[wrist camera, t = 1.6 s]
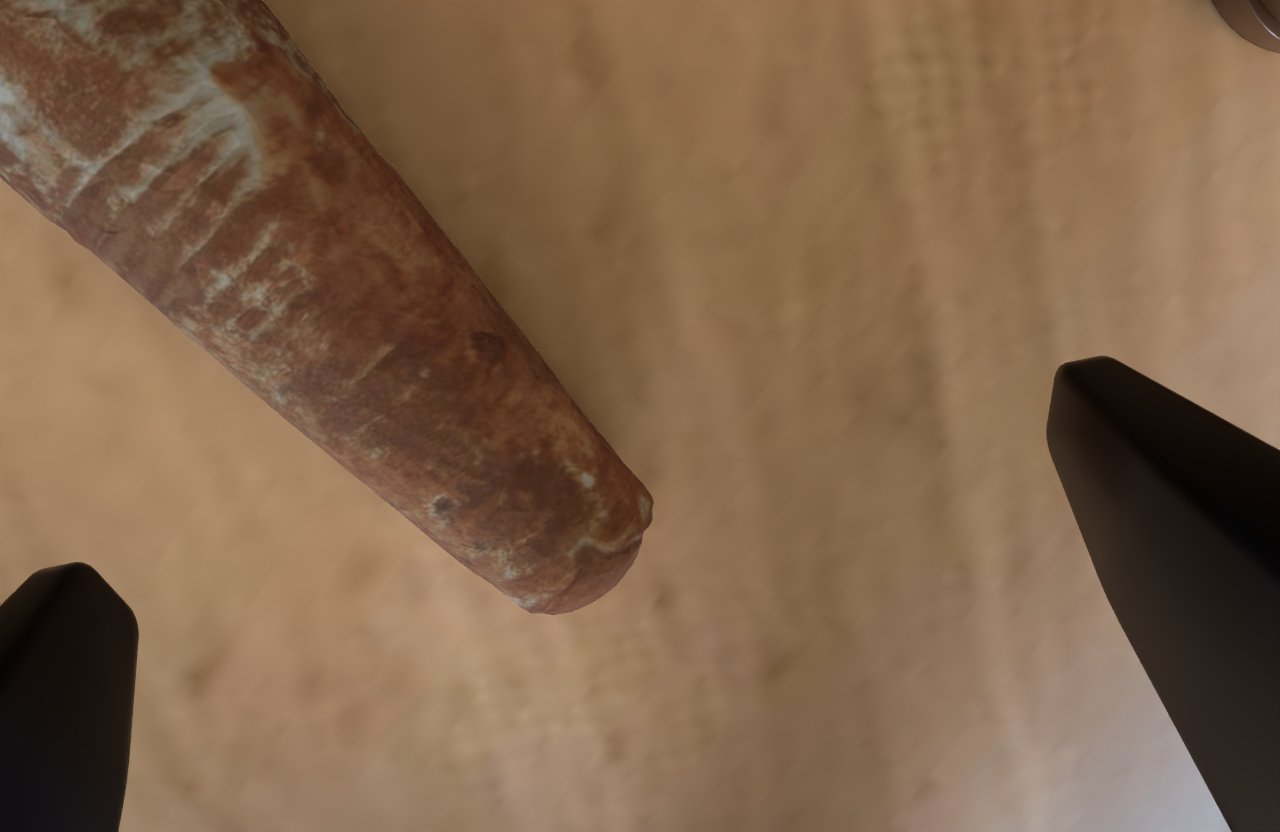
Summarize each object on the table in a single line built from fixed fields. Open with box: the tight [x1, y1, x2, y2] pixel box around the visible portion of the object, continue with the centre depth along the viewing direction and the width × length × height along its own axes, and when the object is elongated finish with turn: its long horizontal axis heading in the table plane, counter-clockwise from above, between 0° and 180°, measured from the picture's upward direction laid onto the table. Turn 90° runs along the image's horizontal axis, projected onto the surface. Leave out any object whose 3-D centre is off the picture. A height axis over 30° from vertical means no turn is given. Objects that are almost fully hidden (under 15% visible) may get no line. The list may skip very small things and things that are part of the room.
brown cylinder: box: [0, 0, 654, 615], centre depth 19 cm, size 6×19×6 cm, turn 36°
